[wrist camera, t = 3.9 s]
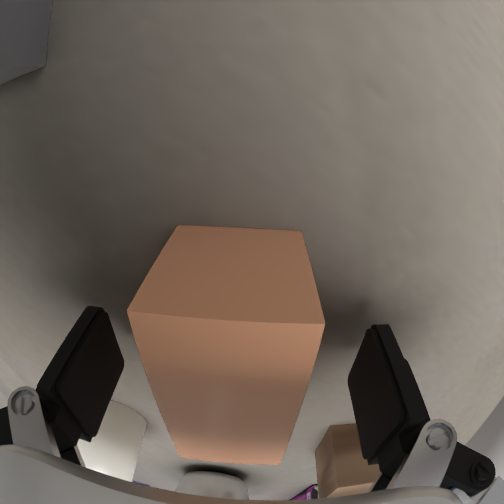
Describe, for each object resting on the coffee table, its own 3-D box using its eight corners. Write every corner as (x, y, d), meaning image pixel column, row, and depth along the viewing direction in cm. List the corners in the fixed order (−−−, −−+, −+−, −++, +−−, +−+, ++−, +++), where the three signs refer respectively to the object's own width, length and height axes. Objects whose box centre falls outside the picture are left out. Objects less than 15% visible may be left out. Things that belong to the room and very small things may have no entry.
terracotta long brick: (178, 223, 10) (126, 310, 6) (300, 229, 9) (325, 324, 6) (195, 376, 13) (179, 456, 9) (278, 381, 13) (279, 464, 9)
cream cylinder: (84, 393, 15) (58, 453, 11) (138, 406, 15) (117, 475, 11) (103, 422, 17) (85, 475, 13) (152, 433, 17) (138, 492, 13)
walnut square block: (330, 424, 15) (337, 487, 11) (393, 417, 15) (408, 474, 11) (314, 450, 18) (318, 503, 14) (370, 445, 18) (379, 493, 14)
